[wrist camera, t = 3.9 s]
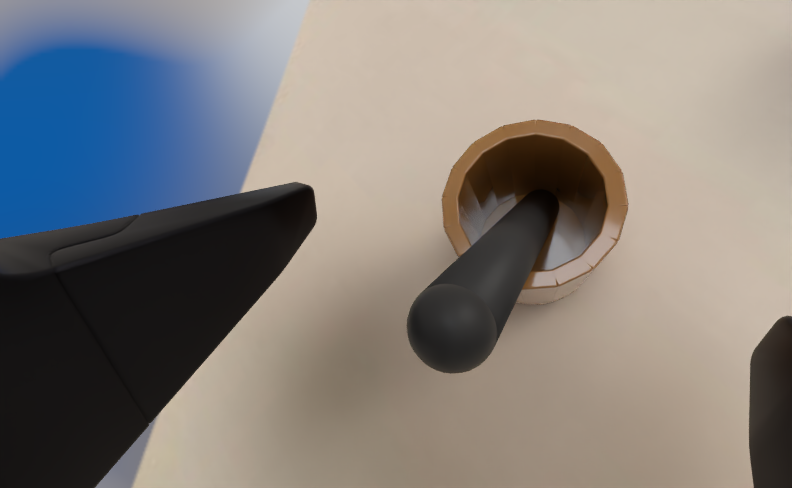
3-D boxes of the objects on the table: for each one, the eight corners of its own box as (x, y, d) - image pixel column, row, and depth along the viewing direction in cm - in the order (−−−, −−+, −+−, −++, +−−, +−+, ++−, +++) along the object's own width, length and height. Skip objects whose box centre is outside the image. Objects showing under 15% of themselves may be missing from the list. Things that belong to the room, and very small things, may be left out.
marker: (514, 356, 15) (474, 394, 5) (478, 343, 15) (381, 354, 6) (562, 200, 15) (607, -25, 6) (527, 192, 16) (513, -29, 6)
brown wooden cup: (576, 322, 15) (597, 314, 10) (456, 283, 16) (419, 258, 11) (611, 204, 15) (649, 136, 10) (491, 177, 17) (471, 108, 12)
